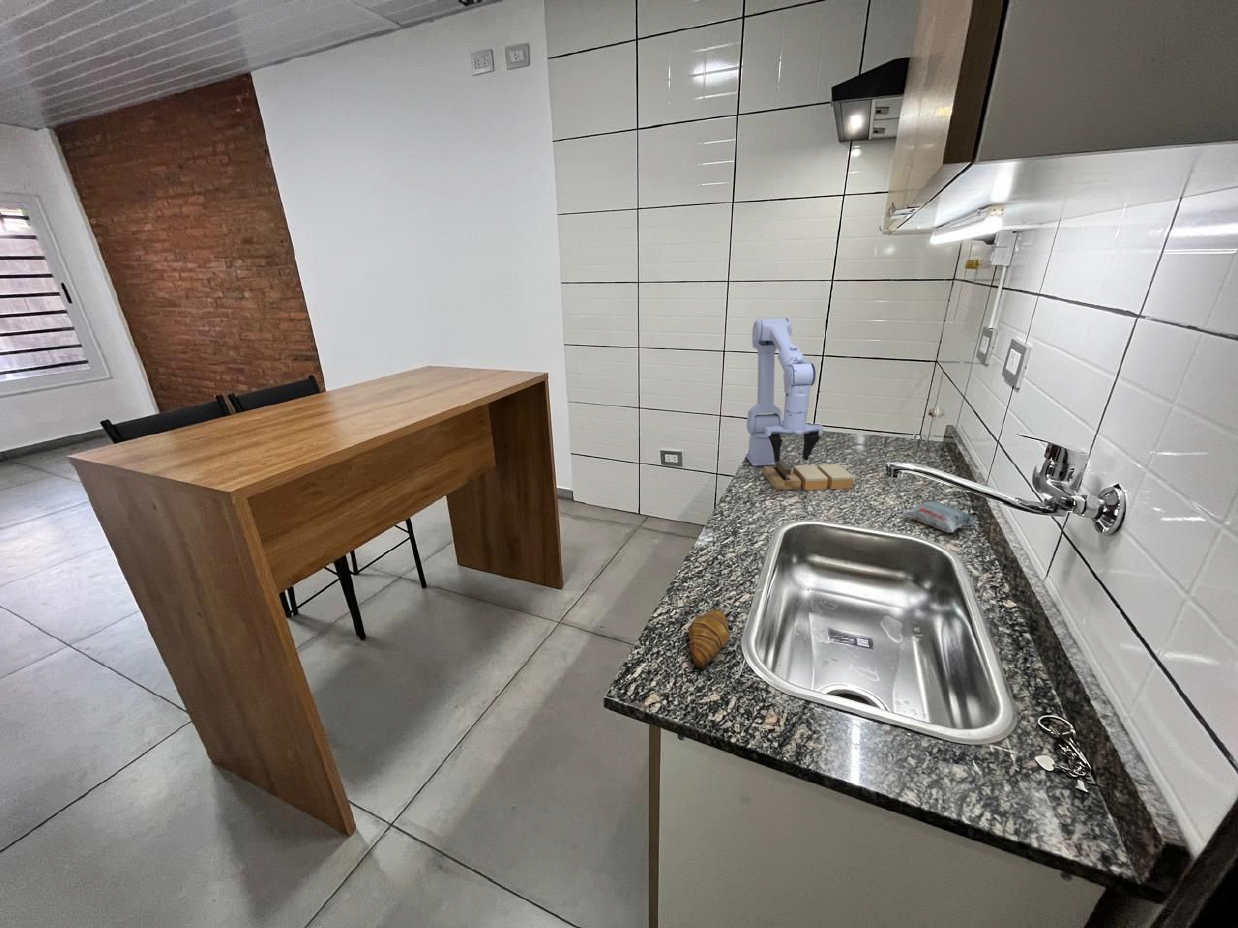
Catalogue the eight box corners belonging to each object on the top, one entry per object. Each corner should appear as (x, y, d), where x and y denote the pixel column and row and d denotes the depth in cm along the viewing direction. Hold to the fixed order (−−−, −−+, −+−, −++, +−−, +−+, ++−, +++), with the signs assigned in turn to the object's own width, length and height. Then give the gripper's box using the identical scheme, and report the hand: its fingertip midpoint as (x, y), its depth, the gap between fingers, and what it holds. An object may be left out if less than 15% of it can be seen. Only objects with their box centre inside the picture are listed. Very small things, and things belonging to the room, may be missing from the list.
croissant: (700, 613, 87) (700, 590, 86) (737, 622, 85) (739, 599, 83) (676, 664, 76) (676, 639, 74) (718, 677, 73) (719, 652, 71)
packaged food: (951, 541, 106) (956, 521, 105) (900, 519, 116) (904, 501, 114) (974, 531, 110) (979, 512, 108) (923, 511, 120) (927, 493, 118)
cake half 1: (792, 476, 143) (793, 465, 142) (812, 475, 143) (814, 464, 142) (804, 490, 134) (806, 478, 132) (826, 489, 133) (828, 478, 132)
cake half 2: (816, 475, 143) (818, 464, 141) (837, 474, 143) (838, 463, 141) (830, 489, 133) (832, 477, 132) (852, 488, 133) (854, 477, 132)
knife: (772, 474, 145) (774, 457, 143) (778, 474, 145) (779, 457, 143) (783, 488, 135) (785, 469, 133) (789, 487, 135) (791, 469, 133)
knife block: (762, 473, 146) (763, 465, 145) (786, 472, 146) (786, 464, 145) (775, 490, 134) (775, 481, 134) (800, 489, 134) (801, 480, 134)
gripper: (772, 415, 120) (768, 466, 125) (830, 413, 120) (824, 464, 125) (764, 408, 127) (760, 456, 132) (819, 406, 127) (813, 454, 132)
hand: (790, 459), depth 129 cm, fingers open, 7 cm apart
